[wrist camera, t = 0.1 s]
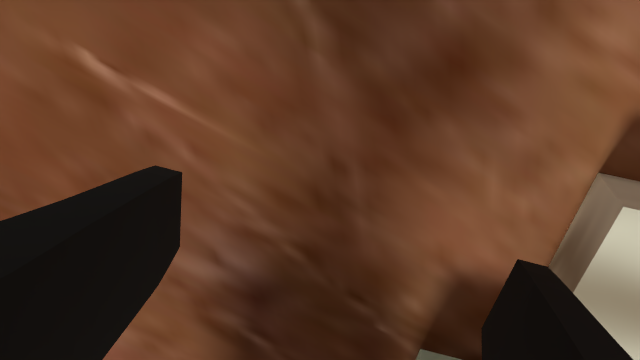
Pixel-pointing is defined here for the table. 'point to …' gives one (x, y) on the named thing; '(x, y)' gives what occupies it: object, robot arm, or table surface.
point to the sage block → (433, 356)
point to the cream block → (606, 258)
